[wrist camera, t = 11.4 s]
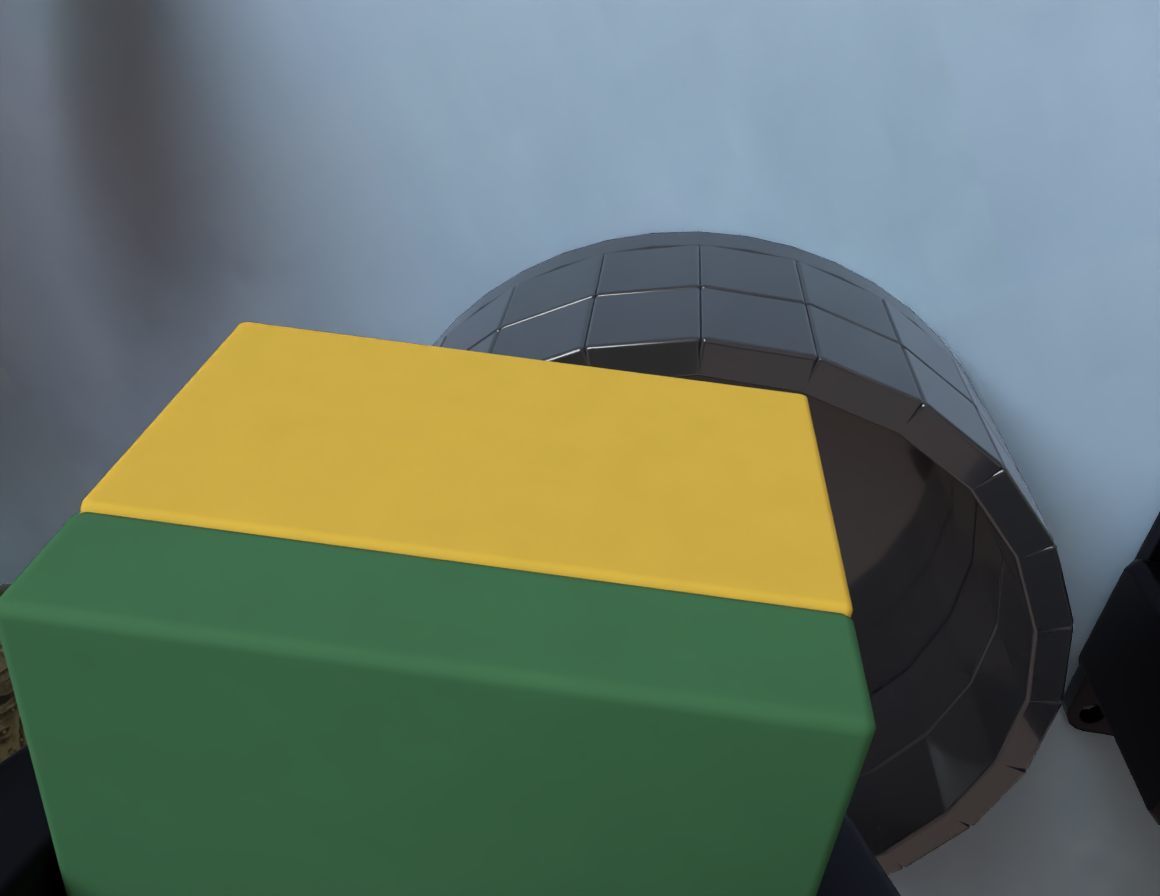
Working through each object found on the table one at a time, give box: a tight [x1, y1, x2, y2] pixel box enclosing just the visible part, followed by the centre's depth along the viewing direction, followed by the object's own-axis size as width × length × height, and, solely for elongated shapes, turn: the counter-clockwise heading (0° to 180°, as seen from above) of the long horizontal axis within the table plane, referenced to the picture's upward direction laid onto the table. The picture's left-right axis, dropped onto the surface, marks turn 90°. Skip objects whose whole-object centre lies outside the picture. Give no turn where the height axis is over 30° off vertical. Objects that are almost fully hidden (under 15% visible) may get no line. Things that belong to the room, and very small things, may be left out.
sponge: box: [0, 322, 876, 896], centre depth 8 cm, size 4×6×4 cm
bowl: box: [432, 232, 1073, 875], centre depth 19 cm, size 12×12×4 cm
